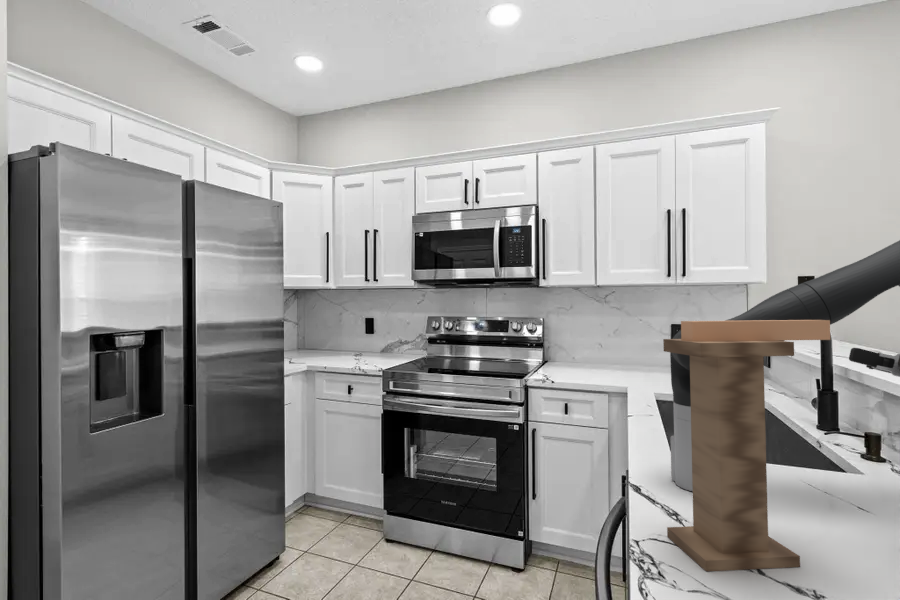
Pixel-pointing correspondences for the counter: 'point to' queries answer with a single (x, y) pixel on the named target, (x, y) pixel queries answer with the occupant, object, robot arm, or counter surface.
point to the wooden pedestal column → (729, 456)
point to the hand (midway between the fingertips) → (874, 356)
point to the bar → (755, 330)
